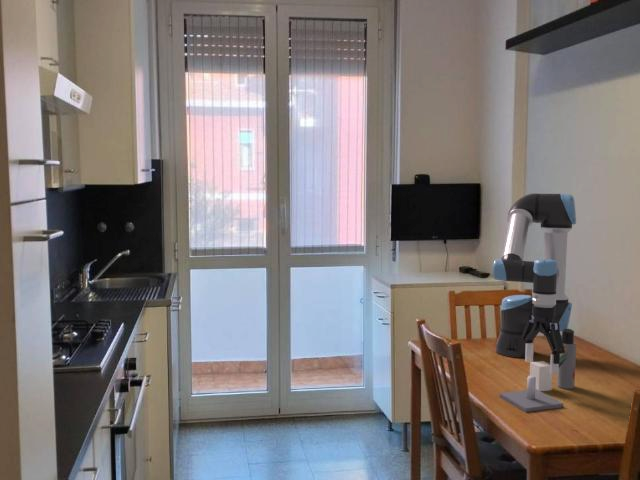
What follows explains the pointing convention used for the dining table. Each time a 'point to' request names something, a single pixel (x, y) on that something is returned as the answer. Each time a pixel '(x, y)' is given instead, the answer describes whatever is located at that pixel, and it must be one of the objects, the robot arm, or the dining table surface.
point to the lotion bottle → (567, 361)
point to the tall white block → (541, 375)
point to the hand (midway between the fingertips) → (541, 367)
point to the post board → (531, 403)
